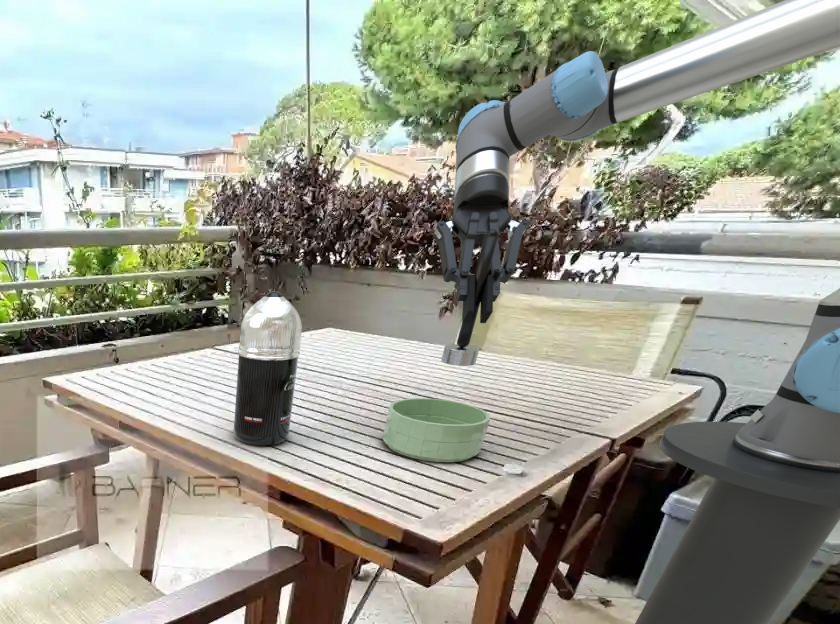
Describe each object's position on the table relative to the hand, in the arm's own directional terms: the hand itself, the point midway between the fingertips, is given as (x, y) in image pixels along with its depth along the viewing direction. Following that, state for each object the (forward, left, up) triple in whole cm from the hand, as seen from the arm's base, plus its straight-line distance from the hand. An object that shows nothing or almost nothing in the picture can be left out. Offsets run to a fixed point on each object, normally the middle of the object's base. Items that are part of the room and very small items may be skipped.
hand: (477, 317), depth 82 cm
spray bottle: (+26, +15, -22) cm, 37 cm away
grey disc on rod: (+2, -3, -8) cm, 8 cm away
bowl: (+2, -1, -22) cm, 22 cm away
